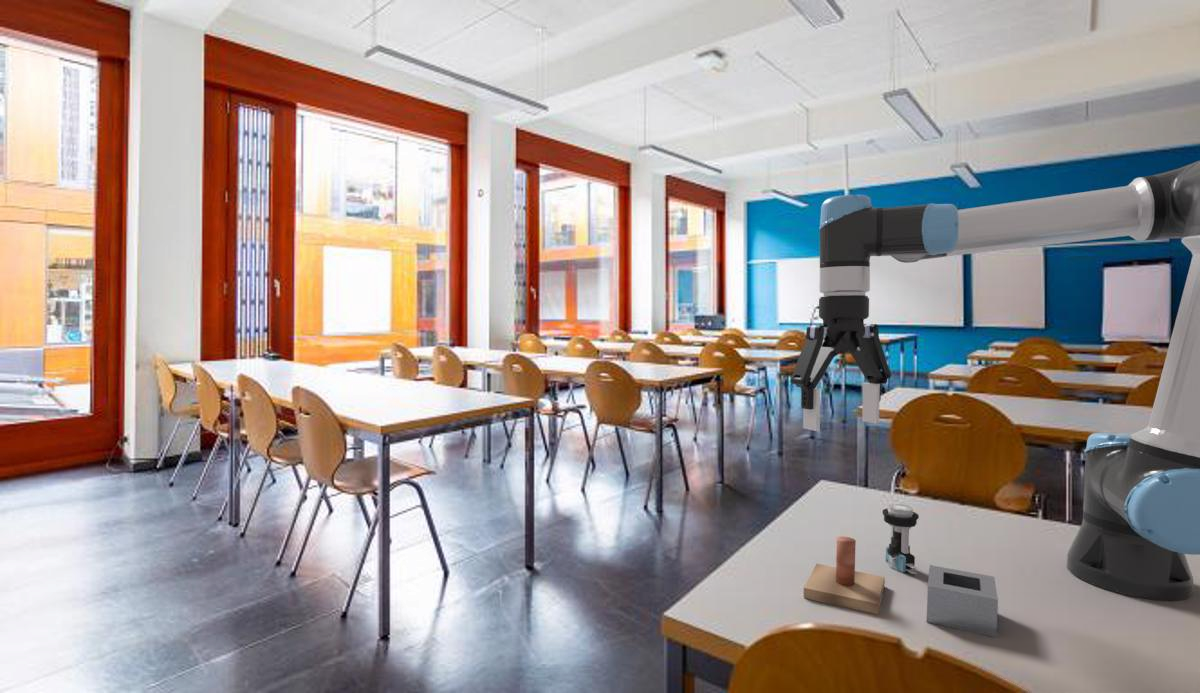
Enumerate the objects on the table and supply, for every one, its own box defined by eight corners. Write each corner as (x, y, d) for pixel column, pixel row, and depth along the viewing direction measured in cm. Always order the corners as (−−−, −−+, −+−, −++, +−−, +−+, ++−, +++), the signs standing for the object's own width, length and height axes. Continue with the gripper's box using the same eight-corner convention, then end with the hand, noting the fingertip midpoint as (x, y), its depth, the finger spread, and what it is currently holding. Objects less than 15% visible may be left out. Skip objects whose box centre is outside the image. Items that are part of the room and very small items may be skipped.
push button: (929, 576, 99) (931, 514, 98) (898, 578, 98) (900, 515, 98) (903, 559, 106) (905, 501, 105) (874, 561, 105) (876, 502, 104)
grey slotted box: (992, 611, 87) (994, 576, 87) (996, 637, 80) (997, 599, 80) (928, 598, 91) (929, 564, 91) (926, 621, 84) (927, 585, 84)
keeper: (884, 586, 95) (886, 535, 95) (877, 614, 86) (879, 557, 86) (816, 572, 100) (817, 523, 100) (803, 597, 91) (804, 544, 91)
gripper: (876, 295, 109) (874, 415, 110) (768, 294, 97) (767, 428, 99) (915, 294, 102) (912, 422, 104) (804, 293, 91) (802, 437, 92)
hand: (841, 425), depth 101 cm, fingers open, 13 cm apart
